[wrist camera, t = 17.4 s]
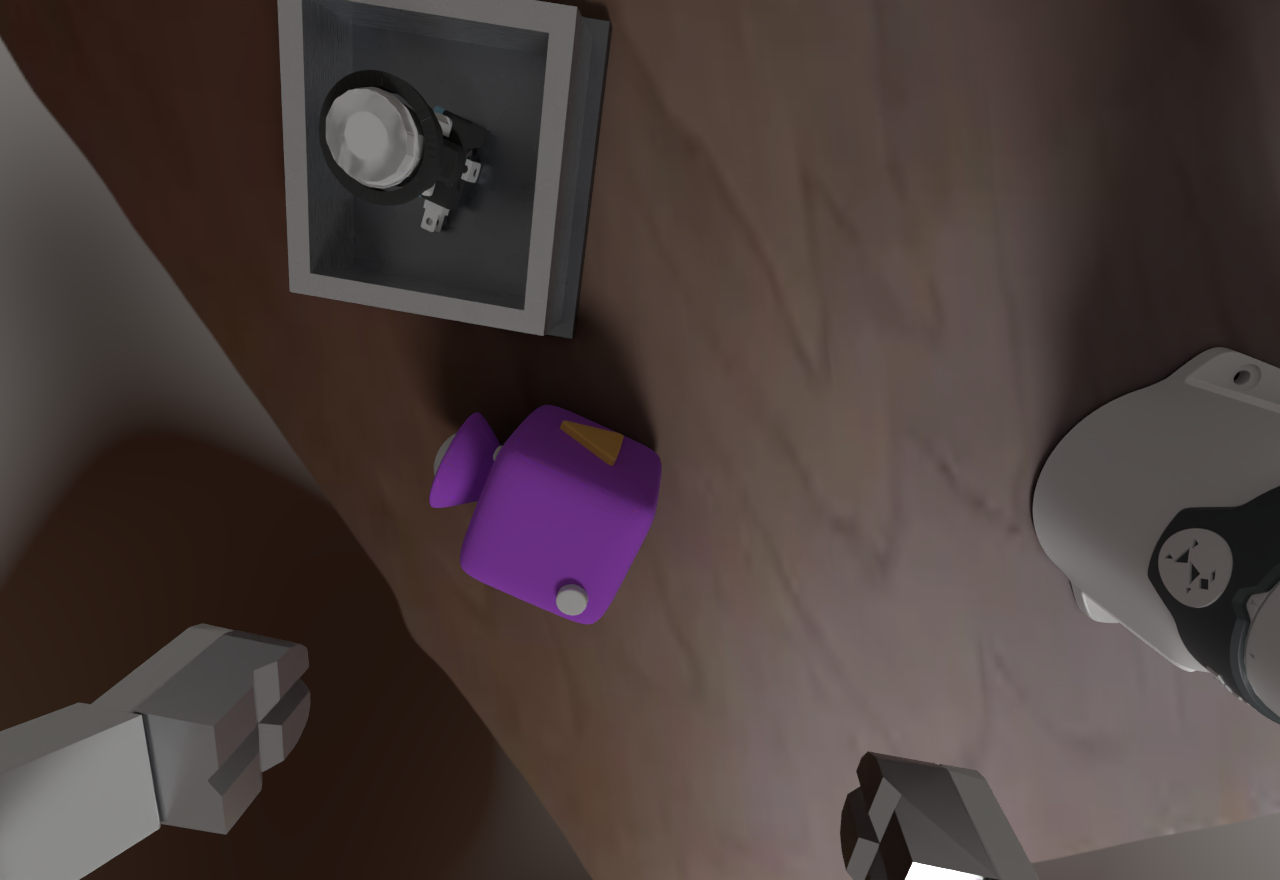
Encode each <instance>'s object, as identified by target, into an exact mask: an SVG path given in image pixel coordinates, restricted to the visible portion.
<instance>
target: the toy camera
mask: <svg viewBox="0 0 1280 880" xmlns="http://www.w3.org/2000/svg"><path fill="white" fill-rule="evenodd" d="M434 475H435V477H434V481H433V484H432V487H431V491H430V505H431V506H432V507H434V508H442V507H449V506H454V505H459V504H464V503H469V502H475V501H478V503H477V506H476V508H475V511H474V514H473V516H472V519H471V522H470V524H469V527H468V530H467V533H466V535H465V538H464V541H463V545H462V549H461V554H460V564H461V567H462V569H463V570H464V571H465V572H466V573H467V574H468V575H470V576H471V577H473V578H475V579H477V580H479V581H481V582H483V583H485V584H487V585H489V586H492V587H494V588H496V589H499V590H501V591H503V592H505V593H508V594H510V595H512V596H515V597H517V598H519V599H521V600H524V601H526V602H528V603H531V604H533V605H535V606H538V607H540V608H542V609H545V610H547V611H549V612H552V613H554V614H557V615H559V616H561V617H564V618H566V619H569V620H572V621H575V622H578V623H582V624H592V623H594V622H596V621H597V620H599V619H600V618H601V616H602V615H603V614H604V613H605V612H606V610H607V609H608V607H609V605H610V604H611V602H612V600H613V599H614V597H615V595H616V593H617V591H618V589H619V587H620V585H621V583H622V581H623V580H624V578H625V576H626V574H627V572H628V570H629V568H630V566H631V564H632V562H633V560H634V558H635V556H636V554H637V553H638V551H639V549H640V547H641V545H642V543H643V541H644V539H645V537H646V535H647V533H648V531H649V529H650V526H651V524H652V521H653V519H654V516H655V512H656V507H657V501H658V494H659V487H660V479H661V461H660V458H659V456H658V455H657V454H656V453H655V452H654V451H653V450H652V449H650V448H648V447H646V446H645V445H643V444H641V443H639V442H637V441H634V440H632V439H630V438H628V437H626V436H624V435H622V434H620V433H617V432H615V431H613V430H611V429H608V428H606V427H604V426H602V425H599V424H597V423H595V422H593V421H591V420H588V419H586V418H584V417H582V416H580V415H577V414H575V413H573V412H571V411H568V410H566V409H563V408H560V407H558V406H554V405H543V406H540V407H538V408H537V409H536V410H534V411H533V412H532V413H531V414H530V415H529V416H528V417H527V418H526V419H525V420H524V421H523V422H522V423H521V424H520V425H519V426H518V428H517V429H516V430H515V431H514V432H513V433H512V435H511V436H510V437H509V438H508V440H507V441H506V442H505V443H504V445H503V446H501V445H500V443H499V441H498V439H497V438H496V436H495V434H494V432H493V430H492V429H491V427H490V426H489V424H488V422H487V421H486V419H485V418H484V417H483V415H482V414H480V413H479V412H475V413H473V414H472V415H470V416H469V417H468V418H467V420H466V421H465V422H464V423H463V425H462V426H461V427H460V429H459V430H458V432H457V433H456V434H454V435H452V436H450V437H449V438H448V439H447V440H446V441H445V442H444V443H443V445H442V446H441V447H440V449H439V451H438V453H437V455H436V458H435V462H434Z"/></svg>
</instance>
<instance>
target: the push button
mask: <svg viewBox="0 0 1280 880" xmlns="http://www.w3.org/2000/svg"><path fill="white" fill-rule="evenodd" d="M391 93H394V94H398V95H400V96H401V97H402V98H403V99H404V100H406V101H407V102H408V104H409V105H410V106H411V107H410V106H408V105H405V104H403V103H401V102H400V101H399V100H398V99H397V98H396V97H395V96H394V95H392V94H391ZM486 134H487V130H486V128H484V127H481V126H479V125H477V124H475V123H473V122H471V121H469V120H467V119H465V118H463V117H460V116H458V115H456V114H454V113H452V112H450V111H448V110H445V109H443V108H441V107H439V106H436V107H435V108H434V110H432V108H431V107H430V106H429V105H428V104H427V102H426V101H425V100H424V98H423V97H422V96H421V95H420V93H419V92H418V91H417V90H416V89H414V88H413V87H412V86H411V85H410V84H408V83H407V82H405V81H404V80H402V79H400V78H399V77H397V76H394V75H392V74H390V73H387V72H384V71H379V70H361V71H357V72H354V73H351V74H349V75H347V76H345V77H344V78H342V79H341V80H340V81H338V82H337V83H336V84H335V85H334V86H333V87H332V89H331V90H330V91H329V93H328V95H327V96H326V98H325V100H324V103H323V105H322V109H321V112H320V118H319V139H320V145H321V149H322V152H323V155H324V158H325V161H326V163H327V165H328V167H329V169H330V170H331V172H332V174H333V175H334V176H335V178H336V179H337V180H338V181H339V183H340V184H341V185H342V186H343V187H344V188H345V189H346V190H348V191H349V192H350V193H351V194H353V195H354V196H356V197H358V198H359V199H361V200H363V201H366V202H368V203H372V204H376V205H383V206H397V205H402V204H405V203H408V202H410V201H412V200H414V199H416V198H417V197H419V196H420V197H422V198H424V199H425V203H424V206H423V208H425V213H424V216H423V220H422V223H421V227H422V228H423V229H426V230H428V231H430V232H434V231H436V232H440V231H441V227H442V224H443V221H444V217H445V215H446V216H448V213H449V210H455V209H457V207H458V204H459V201H460V197H461V194H462V191H463V187H464V184H465V181H469V182H473V183H475V182H476V180H477V177H478V174H479V171H480V167H481V164H480V163H477V162H473V161H472V157H473V154H474V151H475V148H477V147H481V146H482V145H483V144H484V141H485V137H486ZM475 169H476V173H475V175H474V176H473V174H474V171H475ZM391 186H397V187H402V188H400V189H397V190H394V191H385V190H383V189H380V188H388V187H391ZM427 218H430V219H429V222H428V224H427V223H426V220H427ZM437 220H439V224H438V225H436V223H437Z"/></svg>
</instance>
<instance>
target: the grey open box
mask: <svg viewBox="0 0 1280 880" xmlns="http://www.w3.org/2000/svg"><path fill="white" fill-rule="evenodd" d="M278 23H279V46H280V70H281V94H282V117H283V141H284V165H285V188H286V212H287V236H288V259H289V283H290V292H295V293H300V294H306V295H312V296H318V297H323V298H329V299H335V300H340V301H346V302H352V303H358V304H363V305H369V306H375V307H380V308H386V309H392V310H398V311H403V312H409V313H415V314H421V315H426V316H432V317H438V318H443V319H449V320H455V321H461V322H466V323H472V324H478V325H483V326H489V327H495V328H501V329H506V330H512V331H518V332H524V333H529V334H535V335H541V336H544V335H546V334H547V335H553V336H559V337H564V338H570V339H572V338H573V337H575V332H576V323H577V315H578V307H579V298H580V290H581V282H582V274H583V265H584V257H585V249H586V241H587V232H588V224H589V216H590V207H591V199H592V191H593V183H594V174H595V166H596V158H597V149H598V141H599V133H600V125H601V116H602V108H603V100H604V91H605V83H606V75H607V67H608V58H609V50H610V42H611V33H612V26H611V23H610V21H604V20H598V19H592V18H585V17H582V15H581V13H580V11H579V9H578V7H575V6H569V5H562V4H556V3H550V2H543V1H537V0H278ZM361 70H379V71H384V72H387V73H390V74H392V75H394V76H397V77H399V78H400V79H402V80H404V81H405V82H407V83H408V84H410V85H411V86H412V87H413V88H414V89H416V90H417V91H418V92H419V93H420V95H421V96H422V97H423V98H424V100H425V101H426V102H427V104H428V105H429V106H430V107H431V108H432V110H434V108H435V107H436V106H439V107H441V108H443V109H445V110H448V111H450V112H452V113H454V114H456V115H458V116H460V117H463V118H465V119H467V120H469V121H471V122H473V123H475V124H477V125H479V126H481V127H484V128H486V130H487V134H486V137H485V141H484V144H483V145H482V146H481V147H477V148H475V151H474V154H473V157H472V161H473V162H477V163H480V164H481V167H480V171H479V174H478V177H477V180H476V182H475V183H473V182H469V181H465V184H464V187H463V191H462V194H461V197H460V201H459V204H458V207H457V209H455V210H449V213H448V216H446V215H445V217H444V221H443V224H442V227H441V231H440V232H436V231H434V232H430V231H428V230H426V229H423V228H422V227H421V223H422V220H423V216H424V213H425V208H423V206H424V203H425V199H424V198H422V197H420V196H419V197H417V198H416V199H414V200H412V201H410V202H408V203H405V204H402V205H397V206H383V205H376V204H372V203H368V202H366V201H363V200H361V199H359V198H358V197H356V196H354V195H353V194H351V193H350V192H349V191H348V190H346V189H345V188H344V187H343V186H342V185H341V184H340V183H339V181H338V180H337V179H336V178H335V176H334V175H333V174H332V172H331V170H330V169H329V167H328V165H327V163H326V161H325V158H324V155H323V152H322V149H321V145H320V139H319V118H320V112H321V109H322V105H323V103H324V100H325V98H326V96H327V95H328V93H329V91H330V90H331V89H332V87H333V86H334V85H335V84H336V83H337V82H338V81H340V80H341V79H342V78H344V77H345V76H347V75H349V74H351V73H354V72H357V71H361ZM391 94H392V95H394V96H395V97H396V98H397V99H398V100H399V101H400V102H401V103H403V104H405V105H408V106H410V105H409V104H408V102H407V101H406V100H404V99H403V98H402V97H401V96H400V95H398V94H394V93H391ZM410 107H411V106H410ZM475 173H476V169H475V171H474V174H473V176H474V175H475ZM400 188H402V187H397V186H391V187H388V188H380V189H383V190H385V191H394V190H397V189H400ZM429 219H430V218H427V220H426V223H427V224H428V222H429ZM438 224H439V220H437V223H436V225H438Z"/></svg>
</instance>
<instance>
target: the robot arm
mask: <svg viewBox="0 0 1280 880" xmlns="http://www.w3.org/2000/svg"><path fill="white" fill-rule="evenodd" d="M1238 372H1240V374H1239V377H1238V378H1237V379H1236V380H1234V376H1235V375H1236V374H1237V373H1238ZM1033 521H1034V527H1035V531H1036V534H1037V537H1038V540H1039V542H1040V544H1041V546H1042V548H1043V549H1044V551H1045V553H1046V554H1047V555H1048V557H1049V558H1050V559H1051V560H1052V561H1053V562H1054V563H1055V564H1056V565H1057V566H1058V567H1059V568H1060V569H1061V570H1062V571H1063V572H1064V573H1065V575H1066V576H1067V577H1068V579H1069V580H1070V582H1071V585H1072V589H1073V593H1074V597H1075V600H1076V603H1077V605H1078V607H1079V608H1080V610H1081V611H1082V612H1083V613H1085V614H1086V615H1087V616H1089V617H1090V618H1091V619H1093V620H1095V621H1097V622H1104V623H1121V624H1122V625H1123V626H1125V627H1126V628H1127V629H1129V630H1130V631H1131V632H1132V633H1134V634H1135V635H1136V636H1138V637H1139V638H1140V639H1141V640H1143V641H1144V642H1145V643H1147V644H1148V645H1149V646H1151V647H1152V648H1153V649H1154V650H1156V651H1157V652H1158V653H1160V654H1161V655H1162V656H1164V657H1165V658H1166V659H1168V660H1169V661H1170V662H1171V663H1173V664H1174V665H1176V666H1177V667H1179V668H1181V669H1183V670H1186V671H1189V672H1193V671H1195V670H1198V671H1203V672H1210V673H1211V674H1212V675H1213V676H1214V678H1215V679H1216V680H1217V681H1218V682H1219V683H1220V684H1221V685H1222V686H1224V687H1225V688H1226V689H1227V690H1228V691H1230V692H1231V693H1232V694H1233V695H1235V696H1236V697H1237V698H1238V699H1240V700H1243V701H1244V702H1245V703H1246V704H1248V705H1251V706H1252V707H1253V708H1255V709H1256V710H1257V711H1258V712H1260V713H1261V714H1262V715H1264V716H1266V717H1267V718H1269V719H1270V720H1272V721H1274V722H1276V723H1278V724H1280V368H1277V367H1275V366H1272V365H1270V364H1267V363H1265V362H1262V361H1260V360H1257V359H1255V358H1252V357H1250V356H1247V355H1245V354H1242V353H1239V352H1237V351H1234V350H1231V349H1229V348H1225V347H1216V348H1211V349H1209V350H1206V351H1204V352H1202V353H1201V354H1199V355H1197V356H1196V357H1194V358H1193V359H1191V360H1190V361H1189V362H1187V363H1186V364H1185V365H1183V366H1182V367H1181V368H1179V369H1178V370H1177V371H1175V372H1174V373H1173V374H1172V375H1170V376H1169V377H1168V378H1166V379H1164V380H1162V381H1160V382H1158V383H1156V384H1153V385H1151V386H1148V387H1145V388H1142V389H1140V390H1137V391H1134V392H1131V393H1128V394H1126V395H1124V396H1121V397H1119V398H1117V399H1115V400H1113V401H1111V402H1109V403H1107V404H1105V405H1104V406H1102V407H1100V408H1099V409H1097V410H1096V411H1094V412H1092V413H1091V414H1090V415H1088V416H1087V417H1086V418H1084V419H1083V420H1082V421H1081V422H1079V423H1078V424H1077V425H1076V426H1075V427H1074V428H1073V429H1072V430H1071V431H1070V432H1069V433H1068V434H1067V435H1066V436H1065V437H1064V438H1063V439H1062V440H1061V441H1060V443H1059V444H1058V445H1057V446H1056V448H1055V449H1054V450H1053V452H1052V453H1051V455H1050V456H1049V458H1048V460H1047V462H1046V463H1045V465H1044V467H1043V469H1042V471H1041V474H1040V476H1039V479H1038V482H1037V485H1036V488H1035V493H1034V499H1033ZM308 667H309V664H308V653H307V648H306V647H304V646H302V645H300V644H298V643H293V642H288V641H284V640H279V639H275V638H270V637H265V636H260V635H256V634H252V633H247V632H242V631H237V630H235V631H234V630H229V629H225V628H220V627H216V626H211V625H207V624H200V625H196V626H193V627H190V628H188V629H187V630H185V631H184V632H183V633H182V634H180V635H179V636H178V637H176V638H175V639H174V640H173V641H171V642H170V643H169V644H168V645H166V646H165V647H164V648H162V649H161V650H160V651H159V652H157V653H156V654H155V655H154V656H152V657H151V658H150V659H148V660H147V661H146V662H144V663H143V664H142V665H141V666H139V667H138V668H137V669H135V670H134V671H133V672H132V673H130V674H129V675H128V676H127V677H125V678H124V679H123V680H121V681H120V682H119V683H118V684H116V685H115V686H114V687H112V688H111V689H110V690H109V691H107V692H106V693H105V694H103V695H102V696H101V697H100V698H98V699H97V700H96V701H94V702H93V703H92V704H91V705H90V704H83V703H77V704H74V705H71V706H69V707H66V708H63V709H61V710H58V711H55V712H52V713H50V714H47V715H44V716H41V717H39V718H36V719H33V720H31V721H28V722H25V723H22V724H20V725H17V726H14V727H12V728H9V729H6V730H4V731H1V732H0V880H79V879H81V878H82V877H84V876H86V875H87V874H89V873H90V872H92V871H93V870H95V869H97V868H98V867H100V866H101V865H103V864H104V863H106V862H108V861H109V860H111V859H112V858H114V857H115V856H117V855H118V854H120V853H122V852H123V851H125V850H126V849H128V848H130V847H131V846H133V845H134V844H135V843H137V842H139V841H140V840H142V839H144V838H145V837H147V836H148V835H150V834H151V833H153V832H155V831H156V830H158V829H159V828H160V824H166V825H172V826H178V827H185V828H190V829H196V830H202V831H209V832H214V833H220V834H227V833H228V831H229V830H230V829H231V827H232V826H233V825H234V824H235V822H236V821H237V820H238V819H239V817H240V816H241V814H242V813H243V812H244V811H245V810H246V808H247V807H248V806H249V804H250V803H251V802H252V801H253V799H254V798H255V797H256V795H257V794H258V793H259V792H260V790H261V789H262V772H263V771H265V770H267V769H269V768H271V767H273V766H274V765H276V764H278V763H280V762H282V761H284V759H285V758H286V756H287V755H288V754H289V753H290V751H291V750H292V748H293V747H294V746H295V745H296V743H297V741H298V739H299V737H300V735H301V733H302V731H303V728H304V726H305V724H306V722H307V718H308V713H309V708H310V691H309V690H308V688H307V687H306V685H305V684H304V683H303V681H302V680H301V679H300V676H301V675H302V674H303V673H304V672H305V670H306V669H307V668H308ZM856 772H857V776H858V779H859V783H860V787H858V788H857V789H855V790H854V791H852V792H851V793H849V794H847V797H846V801H845V804H844V807H843V810H842V814H841V827H840V839H841V849H842V855H843V859H844V864H845V868H846V871H847V872H848V874H849V875H850V876H851V877H852V879H853V880H1039V878H1038V876H1037V874H1036V872H1035V870H1034V868H1033V867H1032V865H1031V863H1030V861H1029V859H1028V857H1027V855H1026V853H1025V852H1024V850H1023V848H1022V846H1021V844H1020V842H1019V840H1018V839H1017V837H1016V835H1015V833H1014V831H1013V829H1012V827H1011V826H1010V824H1009V822H1008V820H1007V818H1006V816H1005V814H1004V813H1003V811H1002V809H1001V807H1000V805H999V803H998V801H997V800H996V798H995V796H994V794H993V792H992V790H991V788H990V787H989V785H988V783H987V781H986V779H985V778H984V777H983V776H982V775H981V774H980V773H979V772H978V771H976V770H970V769H965V768H959V767H953V766H948V765H942V764H939V765H937V764H935V763H929V762H924V761H918V760H913V759H907V758H902V757H896V756H891V755H885V754H880V753H874V752H867V753H866V754H865V755H864V756H863V757H862V758H861V760H860V763H859V765H858V768H857V770H856Z"/></svg>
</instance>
